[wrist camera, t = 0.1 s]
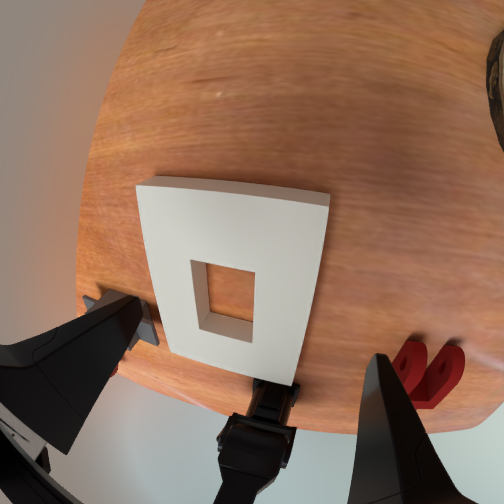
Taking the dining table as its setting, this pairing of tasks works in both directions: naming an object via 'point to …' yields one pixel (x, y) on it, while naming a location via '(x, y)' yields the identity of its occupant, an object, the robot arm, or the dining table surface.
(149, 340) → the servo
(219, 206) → the frame
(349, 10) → the dining table surface
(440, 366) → the mechanical linkage
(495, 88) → the wood slice
